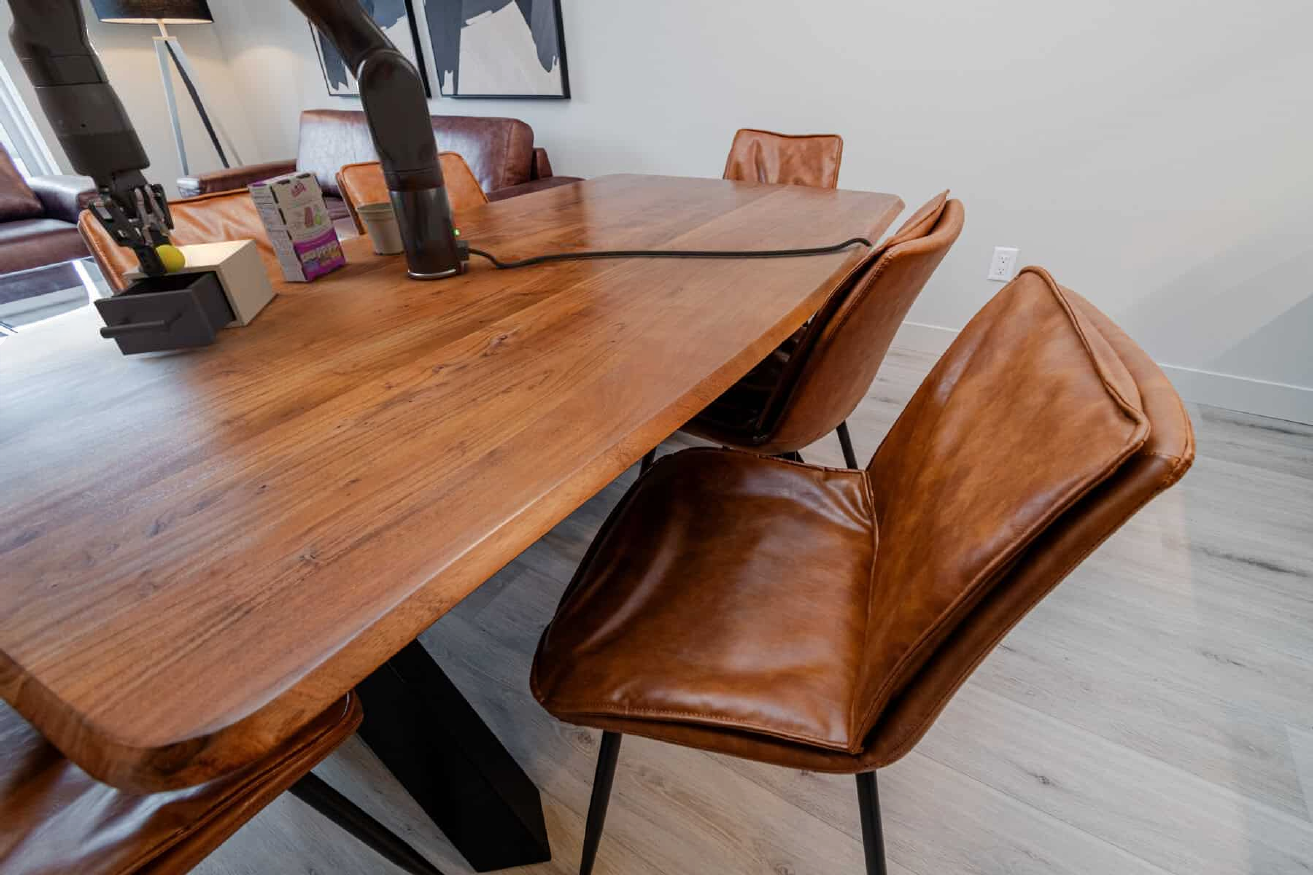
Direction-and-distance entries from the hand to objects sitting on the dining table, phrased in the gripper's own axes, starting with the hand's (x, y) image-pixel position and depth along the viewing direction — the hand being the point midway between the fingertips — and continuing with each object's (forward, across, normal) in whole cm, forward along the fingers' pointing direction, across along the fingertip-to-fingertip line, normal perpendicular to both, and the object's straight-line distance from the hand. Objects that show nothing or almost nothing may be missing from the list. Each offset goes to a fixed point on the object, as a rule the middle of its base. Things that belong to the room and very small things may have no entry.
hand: (165, 270), depth 81 cm
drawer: (+8, -3, 0) cm, 9 cm away
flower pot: (+10, +38, -22) cm, 45 cm away
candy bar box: (+10, +27, -10) cm, 30 cm away
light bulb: (0, 0, 0) cm, 0 cm away
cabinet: (+9, +9, 0) cm, 13 cm away
